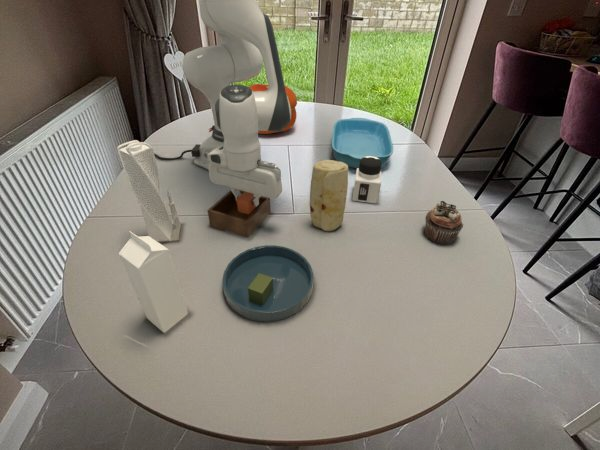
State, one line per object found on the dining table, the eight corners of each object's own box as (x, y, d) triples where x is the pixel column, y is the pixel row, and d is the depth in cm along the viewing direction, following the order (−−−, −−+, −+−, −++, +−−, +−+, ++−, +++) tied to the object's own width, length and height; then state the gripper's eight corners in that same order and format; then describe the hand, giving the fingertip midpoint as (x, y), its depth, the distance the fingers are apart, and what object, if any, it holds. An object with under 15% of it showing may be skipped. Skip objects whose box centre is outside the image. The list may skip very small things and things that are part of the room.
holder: (210, 226, 93) (207, 210, 90) (234, 203, 102) (232, 187, 99) (248, 239, 89) (247, 222, 86) (271, 213, 98) (270, 198, 95)
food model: (341, 218, 97) (348, 156, 85) (344, 233, 92) (353, 169, 80) (308, 218, 97) (310, 156, 85) (309, 233, 92) (312, 169, 79)
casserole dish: (393, 177, 116) (397, 159, 112) (329, 173, 118) (330, 154, 114) (383, 134, 145) (386, 118, 141) (332, 131, 147) (334, 115, 142)
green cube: (249, 300, 73) (247, 288, 70) (259, 284, 76) (258, 272, 74) (263, 305, 72) (262, 293, 69) (273, 290, 75) (272, 277, 73)
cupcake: (457, 249, 88) (470, 219, 81) (419, 241, 90) (429, 211, 84) (457, 228, 95) (469, 199, 89) (422, 220, 97) (431, 192, 91)
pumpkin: (307, 126, 150) (308, 80, 138) (278, 144, 135) (277, 94, 123) (266, 116, 160) (264, 71, 147) (235, 131, 145) (229, 83, 132)
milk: (171, 301, 73) (144, 221, 59) (189, 315, 70) (165, 234, 56) (146, 319, 69) (111, 238, 55) (164, 335, 66) (132, 254, 53)
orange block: (237, 211, 91) (236, 199, 88) (247, 202, 94) (245, 190, 92) (248, 214, 90) (247, 202, 87) (257, 205, 93) (256, 193, 91)
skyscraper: (177, 244, 87) (149, 145, 70) (145, 247, 86) (108, 147, 68) (181, 224, 94) (156, 129, 76) (151, 227, 92) (118, 131, 75)
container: (376, 204, 104) (384, 167, 95) (352, 200, 105) (357, 163, 97) (377, 191, 110) (384, 155, 101) (353, 188, 111) (359, 152, 102)
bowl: (206, 302, 73) (203, 292, 70) (253, 246, 87) (252, 236, 85) (289, 337, 66) (289, 327, 64) (325, 270, 81) (326, 260, 79)
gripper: (286, 159, 81) (286, 206, 90) (216, 144, 88) (223, 188, 96) (274, 171, 77) (276, 218, 85) (201, 153, 83) (209, 199, 92)
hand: (247, 202), depth 91 cm, fingers closed on orange block, 3 cm apart
